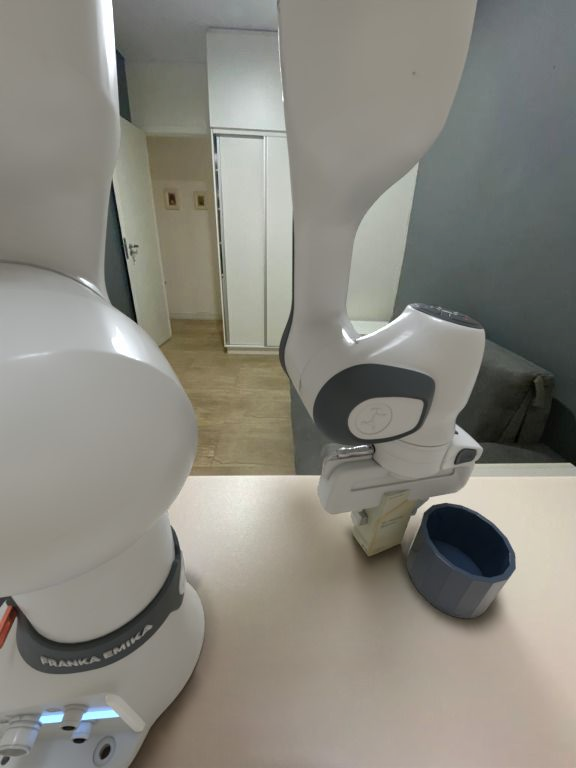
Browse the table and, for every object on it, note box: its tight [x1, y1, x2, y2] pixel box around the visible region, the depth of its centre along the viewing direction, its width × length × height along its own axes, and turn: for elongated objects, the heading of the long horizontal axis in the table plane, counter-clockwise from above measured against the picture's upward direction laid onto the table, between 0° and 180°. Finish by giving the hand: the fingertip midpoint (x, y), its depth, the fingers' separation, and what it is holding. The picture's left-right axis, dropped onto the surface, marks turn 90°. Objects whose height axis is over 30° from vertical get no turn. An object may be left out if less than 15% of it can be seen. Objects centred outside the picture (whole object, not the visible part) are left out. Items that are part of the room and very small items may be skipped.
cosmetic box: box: [351, 489, 417, 557], centre depth 43 cm, size 6×4×12 cm
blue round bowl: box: [406, 502, 517, 619], centre depth 40 cm, size 10×10×8 cm
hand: (383, 516), depth 44 cm, fingers closed on cosmetic box, 6 cm apart
